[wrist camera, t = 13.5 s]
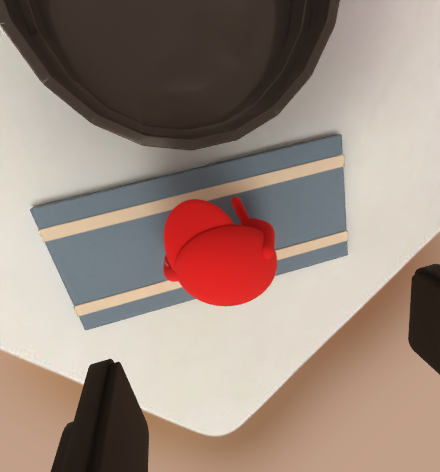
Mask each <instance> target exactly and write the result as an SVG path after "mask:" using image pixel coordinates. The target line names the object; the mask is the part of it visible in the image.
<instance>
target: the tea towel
mask: <svg viewBox="0 0 440 472" xmlns="http://www.w3.org/2000/svg"><path fill="white" fill-rule="evenodd" d="M343 166H344V154H343V152H342V135H340V134H336V135H332V136H328V137H324V138H319V139H315V140H311V141H307V142H303V143H298V144H294V145H290V146H286V147H282V148H278V149H273V150H269V151H265V152H261V153H257V154H253V155H248V156H244V157H240V158H236V159H232V160H228V161H223V162H219V163H215V164H211V165H207V166H203V167H198V168H194V169H190V170H186V171H182V172H178V173H173V174H169V175H165V176H161V177H157V178H153V179H148V180H144V181H140V182H136V183H132V184H128V185H123V186H119V187H115V188H111V189H107V190H103V191H98V192H94V193H90V194H86V195H82V196H78V197H73V198H69V199H65V200H61V201H57V202H53V203H48V204H44V205H40V206H36V207H33V208H31V209H30V211H31V213H32V216H33V218H34V220H35V222H36V224H37V226H38V229H39V230H38V231H39V234H40V236H41V238H42V240H43V242H45V244H46V246H47V248H48V250H49V252H50V255H51V257H52V259H53V261H54V263H55V266H56V268H57V270H58V272H59V274H60V276H61V279H62V281H63V283H64V285H65V287H66V289H67V292H68V294H69V296H70V298H71V300H72V302H73V305H74V309H75V311H76V314H77V316H79V318H80V320H81V322H82V324H83V326H84V329H85V330H89V329H92V328H96V327H99V326H103V325H106V324H109V323H113V322H116V321H120V320H123V319H127V318H130V317H134V316H137V315H141V314H144V313H148V312H151V311H155V310H158V309H162V308H165V307H169V306H172V305H176V304H179V303H183V302H186V301H190V300H193V299H196V298H194V297H193V296H192V295H190V294H189V293H188V292H187V291H186V290H185V289H184V288H183V287H182V286H181V284H180V283H179V281H178V282H172V281H169V280H167V279H166V277H165V276H164V272H163V268H164V257H165V255H166V252H165V247H164V228H165V224H166V220H167V218H168V216H169V214H170V213H171V211H172V210H173V209H174V208H175V207H176V206H177V205H178V204H180V203H182V202H184V201H186V200H191V199H200V200H205V201H208V202H210V203H212V204H214V205H216V206H217V207H219V208H220V209H222V210H223V211H224V212H225V213H226V214H227V215H228V216H229V217H230V219H231V220H232V221H233V223H234V224H235V225H242V224H241V222H240V220H239V218H238V216H237V214H236V212H235V210H234V208H233V206H232V203H231V199H232V198H233V197H238V198H240V200H241V202H242V204H243V206H244V208H245V211H246V213H247V215H248V217H249V219H250V218H256V219H260V220H264V221H266V222H268V223H269V224H271V225H272V227H273V229H274V232H275V244H274V248H275V251H276V255H277V270H276V274H275V276H277V275H280V274H283V273H287V272H290V271H294V270H297V269H301V268H304V267H308V266H311V265H315V264H318V263H322V262H325V261H329V260H332V259H336V258H339V257H343V256H346V255H348V251H347V241H348V231H347V230H346V211H345V192H344V172H343Z"/></svg>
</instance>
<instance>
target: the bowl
mask: <svg viewBox="0 0 440 472" xmlns="http://www.w3.org/2000/svg"><path fill="white" fill-rule="evenodd" d="M339 2H340V0H0V25H1V27H2V29H3V30H4V31H5V33H6V34H7V36H8V37H9V38H10V40H11V41H12V42H13V44H14V45H15V46H16V48H17V49H18V51H19V52H20V53H21V55H22V56H23V57H24V59H25V60H26V62H27V63H28V64H29V66H30V67H31V68H32V70H33V71H34V73H35V74H36V75H37V77H38V78H39V79H40V81H41V82H42V83H43V84H44V85H45V86H46V87H47V88H48V89H50V90H51V91H52V92H53V93H55V94H56V95H57V96H58V97H60V98H61V99H62V100H63V101H64V102H66V103H67V104H68V105H69V106H71V107H72V108H73V109H74V110H75V111H77V112H78V113H79V114H80V115H82V116H83V117H84V118H85V119H87V120H88V121H89V122H90V123H92V124H93V125H96V126H98V127H100V128H103V129H105V130H107V131H110V132H112V133H114V134H117V135H119V136H121V137H124V138H126V139H128V140H131V141H133V142H135V143H138V144H140V145H144V146H152V147H162V148H172V149H183V150H196V149H200V148H205V147H209V146H213V145H217V144H222V143H226V142H230V141H235V140H237V139H240V138H241V137H243V136H245V135H246V134H248V133H250V132H251V131H253V130H254V129H256V128H258V127H259V126H261V125H262V124H264V123H266V122H267V121H269V120H271V119H272V118H274V117H275V116H277V115H278V114H279V113H280V112H281V111H282V110H283V108H284V107H285V106H286V105H287V104H288V103H289V101H290V100H291V99H292V98H293V97H294V96H295V95H296V93H297V92H298V91H299V90H300V89H301V88H302V86H303V85H304V84H305V83H306V82H307V81H308V79H309V78H310V77H311V75H312V73H313V71H314V69H315V67H316V65H317V63H318V61H319V58H320V56H321V54H322V52H323V50H324V48H325V46H326V44H327V41H328V39H329V37H330V35H331V33H332V31H333V29H334V25H335V22H336V17H337V12H338V7H339Z"/></svg>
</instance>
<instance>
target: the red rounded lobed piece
mask: <svg viewBox="0 0 440 472" xmlns="http://www.w3.org/2000/svg"><path fill="white" fill-rule="evenodd" d="M231 203H232V206H233V208H234V210H235V212H236V214H237V216H238V218H239V220H240V222H241V224H242V225H235V224H234V223H233V221H232V220H231V219H230V217H229V216H228V215H227V214H226V213H225V212H224V211H223V210H222V209H220V208H219V207H217V206H216V205H214V204H212V203H210V202H208V201H205V200H200V199H191V200H186V201H184V202H182V203H180V204H178V205H177V206H176V207H175V208H174V209H173V210H172V211H171V213H170V214H169V216H168V218H167V220H166V224H165V228H164V247H165V252H166V255H165V257H164V268H163V272H164V276H165V277H166V279H167V280H169V281H172V282H178V281H179V283H180V284H181V286H182V287H183V288H184V289H185V290H186V291H187V292H188V293H189V294H190V295H192V296H193V297H194V298H196V299H198V300H200V301H202V302H205V303H208V304H212V305H217V306H234V305H239V304H243V303H246V302H249V301H251V300H253V299H255V298H256V297H258V296H259V295H261V294H262V293H263V292H264V291H265V290H266V289H267V288H268V287H269V285H270V284H271V282H272V281H273V279H274V276H275V274H276V270H277V255H276V251H275V248H274V244H275V232H274V229H273V227H272V225H271V224H269V223H268V222H266V221H264V220H260V219H256V218H250V219H249V217H248V215H247V213H246V211H245V208H244V206H243V204H242V202H241V200H240V198H238V197H233V198H232V199H231Z"/></svg>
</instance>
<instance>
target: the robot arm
mask: <svg viewBox="0 0 440 472" xmlns="http://www.w3.org/2000/svg"><path fill="white" fill-rule="evenodd" d="M408 340H409V344H410V346H411V348H412V349H413V350H414V351H415V352H416V353H417V354H418V355H419V356H420V357H421V358H422V359H423V360H424V361H426V362H427V363H428V364H429V365H430V366H431V367H432V368H433V369H434V370H435V371H437V372H438V373H439V374H440V265H439V264H433V265H430V266H426V267H423V268H419V269H417V270H416V272H415V275H414V276H413V277H412V285H411V303H410V321H409V337H408ZM148 446H149V432H148V425H147V422H146V420H145V417H144V415H143V413H142V411H141V408H140V406H139V404H138V402H137V399H136V397H135V395H134V393H133V390H132V388H131V386H130V383H129V381H128V379H127V377H126V374H125V372H124V370H123V368H122V365H121V363H120V362H116V363H114V361H113V360H112V359H108V360H105V361H101V362H98V363H94V364H91V365H90V366H89V368H88V372H87V375H86V379H85V383H84V386H83V390H82V394H81V397H80V401H79V404H78V408H77V411H76V415H75V419H74V422H71V423H68V424H67V426H66V427H65V428H64V431H63V433H62V437H61V440H60V443H59V446H58V449H57V453H56V456H55V459H54V463H53V466H52V469H51V472H148V448H149V447H148Z"/></svg>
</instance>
